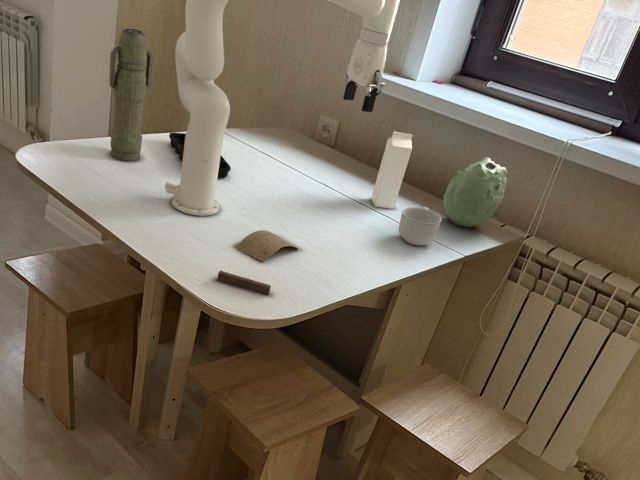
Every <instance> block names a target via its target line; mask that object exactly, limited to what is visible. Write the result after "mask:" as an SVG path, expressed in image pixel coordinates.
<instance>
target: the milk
mask: <svg viewBox="0 0 640 480" xmlns="http://www.w3.org/2000/svg"><path fill="white" fill-rule="evenodd" d="M412 139H413V134H412V133H406V132H399V131H393V132H392V135H391V136H390V137H389V138H387V141H386V145H385V148H384V152H383V155H382V158H381V162H380V166H379V170H378V173H377V177H376V180H375V183H374V186H373V190H372V194H371V198H370V199H371V201H372V203H373V205H374V207H375V208H384V209H391V210H394V209H395V206H396V203H397V199H398V196H399V194H400V189H401V187H402V183H403V180H404V177H405V173H406V170H407V167H408V164H409V161H410V157H411V155H412V152H413V151H412V150H413V142H412Z"/></svg>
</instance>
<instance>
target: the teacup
mask: <svg viewBox="0 0 640 480" xmlns="http://www.w3.org/2000/svg"><path fill="white" fill-rule="evenodd" d="M442 221H443V220H442V216H441V215H439V214H438V213H437V212H435V211H432V210H429V208H428V207H426V206H424V207H417V206H416V207H415V206H411V207H405V208H403V209H402V211H401V216H400V220H399V224H398V233H399V235H400V237H401V238H402V239H403V240H404V241H405V242H406V243H408V244H410V245H413V246H419V247H420V246H425V245H428V244H429V243H432V242H433V241H434V240H435V239H436V236H437V235H438V231H439V228H440V225H441V222H442Z"/></svg>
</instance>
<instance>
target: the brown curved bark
mask: <svg viewBox="0 0 640 480" xmlns="http://www.w3.org/2000/svg"><path fill="white" fill-rule="evenodd" d="M284 247H294V248H296V249H298V250H300V248H298V247H296V246H295V245H293V244H291V243H289V242H288V241H286V240H284V239H283V238H281V237H279V236H278V235H276V234H274V233H273V232H271V231H269V230H267V229H263V230H262V229H261V230H255V231H253V232H252V233H249V234H248V235H246V236H245V237H244V238H243V239H242V240H241V241H240V242H239V243H238V244H236V249H237V250H238V251H240V252H242V253H243V254H244V255H248V256H251V257H252V258H255V260H258V261H261V262H266V261H268V259H269V258H270V257H271V256H272V255H274V254H275V253H276V252H278V251H279V250H280V249H282V248H284Z"/></svg>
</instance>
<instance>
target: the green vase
mask: <svg viewBox="0 0 640 480" xmlns="http://www.w3.org/2000/svg"><path fill="white" fill-rule="evenodd" d="M507 175H508V170H507V168H506V167H505V166H501V165H500V164H496V163H495V161H493V160H492V159H491V158H490V157H487V156H486V157H482V160H480V161H477V162H475V163H472V164H468V166H467V167H466V168H463V166H460V168H459V169H457V171H456V173H455V175H454V177H453V178H451V180H450V181H449V182H448V185H447V187H446V189H445V193H444V194H443V196H442V198H443V201H442V204H443V208H444V211H445V214H446V215H447V218H448V219H450V221H451V222H452V223H454V224H455V225H457V226H460V227H467V228H473V227H477V226H479V225H483V224H485V223H487V221H489V220H490V219H491V218H492V216H494V214H495V213H496V211H497V209H498V208H499V207H500V205H501V203H502V201H503V199H504V196H505V191H506V187H507V180H508V177H506V176H507Z"/></svg>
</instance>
